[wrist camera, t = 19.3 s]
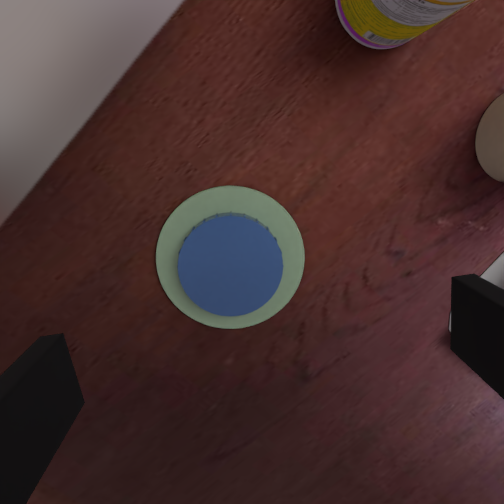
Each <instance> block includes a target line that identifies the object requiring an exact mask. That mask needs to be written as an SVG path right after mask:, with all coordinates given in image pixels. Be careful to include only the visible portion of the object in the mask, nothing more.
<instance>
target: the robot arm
mask: <svg viewBox="0 0 504 504" xmlns="http://www.w3.org/2000/svg"><path fill="white" fill-rule="evenodd" d="M450 349H451V350H452V351H453V352H454V353H455V354H456V355H457V356H458V357H459V358H461V359H462V360H463V361H464V362H465V363H466V364H467V365H468V366H469V367H470V368H471V369H472V370H473V371H474V372H475V373H477V374H478V375H479V376H480V377H481V378H482V379H483V380H484V381H485V382H486V383H487V384H488V385H489V386H490V387H491V388H493V389H494V390H495V391H496V392H497V393H498V394H499V395H500V396H501V397H502V398H503V399H504V289H502V288H500V287H498V286H496V285H494V284H493V283H491V282H489V281H487V280H485V279H483V278H481V277H479V276H478V275H476V274H469V275H462V276H455V277H452V288H451V346H450ZM84 403H85V402H84V399H83V395H82V392H81V389H80V386H79V383H78V379H77V376H76V373H75V370H74V366H73V363H72V360H71V357H70V354H69V350H68V347H67V344H66V341H65V338H64V334H63V333H62V334H55V335H48V336H41V337H39V338H38V339H37V340H36V341H35V342H34V343H33V344H32V345H31V346H30V347H29V348H28V349H27V350H26V351H25V352H24V353H23V354H22V355H21V356H20V357H19V358H18V359H17V360H16V361H15V362H14V363H13V364H12V365H11V366H10V367H9V368H8V369H7V370H6V371H5V372H4V373H3V374H2V375H1V376H0V504H26V503H27V501H28V499H29V498H30V496H31V494H32V492H33V491H34V489H35V487H36V486H37V484H38V482H39V480H40V479H41V477H42V475H43V474H44V472H45V470H46V468H47V467H48V465H49V463H50V461H51V460H52V458H53V456H54V455H55V453H56V451H57V449H58V448H59V446H60V444H61V443H62V441H63V439H64V437H65V436H66V434H67V432H68V431H69V429H70V427H71V425H72V424H73V422H74V420H75V419H76V417H77V415H78V413H79V412H80V410H81V408H82V406H83V405H84Z"/></svg>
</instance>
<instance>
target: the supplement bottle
mask: <svg viewBox="0 0 504 504" xmlns="http://www.w3.org/2000/svg"><path fill="white" fill-rule="evenodd" d="M473 1H475V0H335V4H336V10H337V14H338V17H339V19H340V22H341V24H342V25H343V27H344V28H345V30H346V31H347V32H348V34H349V35H350V36H351V37H352V38H353V39H355V40H356V41H357V42H359V43H360V44H362V45H364V46H367V47H370V48H374V49H390V48H395V47H398V46H401V45H403V44H405V43H407V42H409V41H410V40H412V39H414V38H415V37H417V36H418V35H420V34H422V33H423V32H425V31H426V30H428V29H430V28H431V27H433V26H435V25H436V24H438V23H439V22H441V21H443V20H444V19H446V18H447V17H449V16H451V15H452V14H454V13H455V12H457V11H459V10H460V9H462V8H463V7H465V6H467V5H468V4H470V3H472V2H473Z"/></svg>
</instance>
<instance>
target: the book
mask: <svg viewBox="0 0 504 504" xmlns="http://www.w3.org/2000/svg"><path fill="white" fill-rule="evenodd" d="M480 277H481V278H483V279H485V280H487V281H489V282H491V283H493V284H494V285H496V286H498V287H500V288H502V289H504V252H503V253H502V254H501V255H500V256H499V257H498V258H497V259H496V260H495V261H494V262H493V264H492V265H491V266H490V267H489V268H488V269H487V270H486V271H485V272H484V273H483V274H482V275H481V276H480ZM449 331H450V332H451V312H450V321H449Z"/></svg>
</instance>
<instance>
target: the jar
mask: <svg viewBox="0 0 504 504" xmlns="http://www.w3.org/2000/svg"><path fill="white" fill-rule="evenodd" d="M475 149H476V155H477V158H478V161H479V163H480V165H481V167H482V168H483V170H484V171H485V172H486V173H487V174H488V175H489V176H491V177H492V178H494V179H495V180H497V181H500V182H503V183H504V93H503V94H502V95H500V96H499V97H498V98H497V99H495V100H494V101H493V103H492V104H491V105H490V106H489V107H488V108H487V110H486V111H485V113H484V115H483V116H482V118H481V120H480V123H479V125H478V128H477V133H476V140H475Z"/></svg>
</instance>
